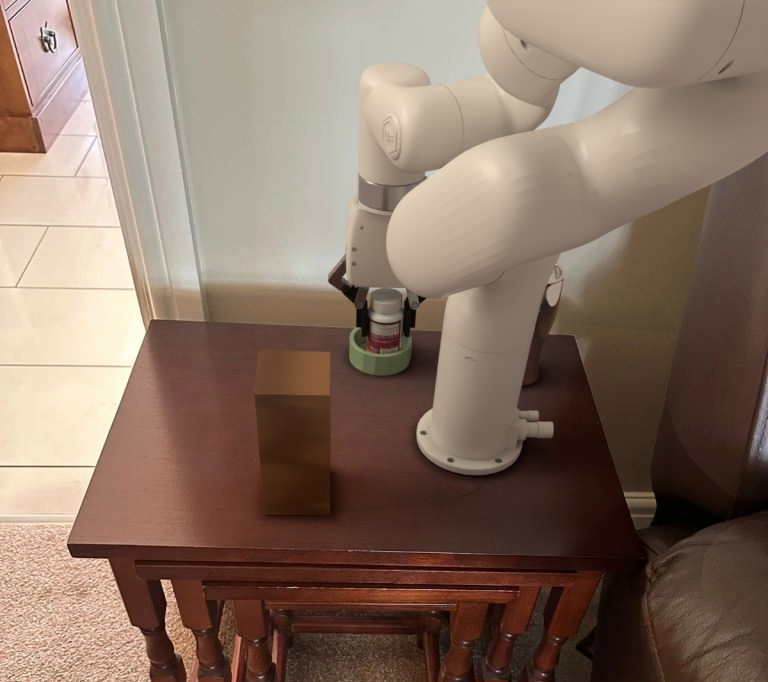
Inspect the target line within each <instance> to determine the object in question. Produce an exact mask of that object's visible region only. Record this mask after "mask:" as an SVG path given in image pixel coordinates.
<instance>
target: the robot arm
mask: <svg viewBox="0 0 768 682" xmlns="http://www.w3.org/2000/svg"><path fill="white" fill-rule="evenodd" d="M485 1H486V6H485V8H484V10H483V12H482V14H481V17H480V21H479V24H478V30H477V43H478V50H479V54H480V57H481V61H482V62H483V64H484V67H485V69H486V71H487V72H486V73H485V74H484V75H481V76H478V77H472V78H471V77H470V78H465V79H458V80H454V81H453V80H452V81H448V82H441V83H435V84H432V83H431V80H430V79H431V78H430V76H429V75H428V73H427V72H426V71H425V70H424V69H423V68H421V67H419V66H416V65H413V64H409V63H404V62H381V63H377V64H373V65H371V66H368V67H367V68H365V69H364V71H363V72H362V74H361V76H360V79H359V83H358V125H357V126H358V129H357V130H358V133H357V134H358V135H357V137H358V139H357V153H358V154H357V193H356V194H353V195H352V196H351V199H350V203H349V207H348V208H349V209H348V214H347V224H346V235H345V237H346V238H345V254H344V255H343V256H342V257H341V259H340V260H339V261H337V263H336V264H335V265H334V267H333V268H332V269H331V271H330V272H329V273H328V274H327V282H328V284H329V285H331V286H332V287H334V288H335V289H336V290H338V291H340V292H341V293H342V295H344V297H346V298H347V299H348V300H349V302H351V303H352V304H353V305H354V306H353V307H354V308H355V328H361V330H362V337H366V336H367V329H368V308H369V305H368V304H369V303H368V299H367V297H368V294H369V291H370V289H371V288H375V289H380V288H392V289H405V291H406V295H407V296H406V297H405V299H404V300H403V309H404V336H405V337H410V335H411V329H415V328H416V322H417V321H416V319H417V309H418V308H420V305H421V304H422V303H423V302H425V301H426V300H427V299H436V300H437V299H442V298H446V297H447V300H446V303H445V309H444V315H443V321H442V328H441V335H440V336H441V338H440V346H439V353H438V361H437V370H436V379H435V384H434V385H435V387H434V395H433V401H432V402H433V403H432V408H431V409H430V408H429V410H427V411H426V412H425V413H423V415H422V417H420V418H419V421H418V423H417V427H416V442H417V443H416V444H417V446H418V448H419V449H420V452H421V453H422V454H423V455H424V456H425V457H426V458H427V459H428V460H429V461H430V462H432V463H433V464H434V465H436V466H438V467H440V468H442V469H444V470H446V471H449V472H451V473H455V474H461V475H465V476H466V475H467V476H484V475H485V476H486V475H491V474H495V473H498V472H501V471H504V470H506V469H508V468H509V467H510V466H512V465H513V464H514V463H515V462H516V461H517V459H518V458H519V457H520V455H521V451H522V448H523V442H524V441H525V440H526V439H527V438H536V439H552V438H553V436H554V431H555V430H554V429H555V427H554V422H553V421H539V420H540V413H539V410H520V408H518V404H519V399H520V395H521V392H522V391H521V390H522V387H523V386H522V382H523V377H524V373H525V368H526V364H527V359H528V355H529V350H530V345H531V341H532V337H533V333H534V329H535V324H536V320H537V316H538V312H539V308H540V304H541V301H542V298H543V294H544V291H545V289H546V286H547V283H548V281H549V278H550V276H551V274H552V272H553V270H554V267H555V265H556V263H558V260H559V258H560V257H561V254H562V253H564V252H565V253H566V252H568V251H571V250H574V249H578V248H580V247H583V246H585V245H588V244H590V243H592V242H594V241H596V240H599V239H600V238H601V237H604V236H605V235H607V234H609V233H611V232H613V231H615V230H616V229H619V228H620V227H623V226H625V225H627V224H629V223H631V222H634V221H636V220H638V219H640V218H643V217H645V216H647V215H649V214H652V213H654V212H656V211H658V210H660V209H663V208H665V207H667V206H669V205H670V204H673V203H674V202H677V201H678V200H681V199H683V198H684V197H687V196H689V195H691V194H693V193H695V192H697V191H700V190H702V189H703V188H706V187H708V186H710V185H712V184H715V183H717V182H719V181H720V180H723V179H724V178H727V177H729V176H730V175H732V174H734V173H736V172H737V171H739V170H741V169H743V168H744V167H746V166H748V165H749V164H751V163H753V162H755V161H756V160H757V159H759V158H761V157H763V156H764V155H765V154H767V153H768V0H485ZM581 68H582V69H585V70H587V71H590V72H593V73H595V74H597V75H600V76H602V77H604V78H607V79H609V80H611V81H613V82H616V83H619V84H623V85H625V86H630V87H634V88H632V89H630V90H629V91H628V92H626V93H625V94H624V95H622V96H621V97H620V98H618V99H616V100H614V101H613V102H612V103H610V104H608V105H606V106H605V107H603V108H601V109H600V110H598V111H596V112H594V113H592V114H591V115H589V116H587V117H584V118H582V119H580V120H577V121H574V122H570V123H564V124H559V125H553V126H548V127H544V128H540V129H538V128H539V127H540V126H541V125H542V124H544V122H545V121H546V120H547V119H548V118H549V117H550V114H551V113H552V111H553V109H554V106H555V104H556V102H557V99H558V96H559V92H560V89H561V88H560V87H561V84H563V83H564V82H566V80H568V79H569V78H570V77H571V76H572V75H574V74H575V73H576V72H577V71H578V70H579V69H581ZM432 171H435V172H434V173H432V174H431V175H430V176H429V177H428V175H426V173H427V172H432ZM345 275H346V278H345V277H344V276H345Z"/></svg>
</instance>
